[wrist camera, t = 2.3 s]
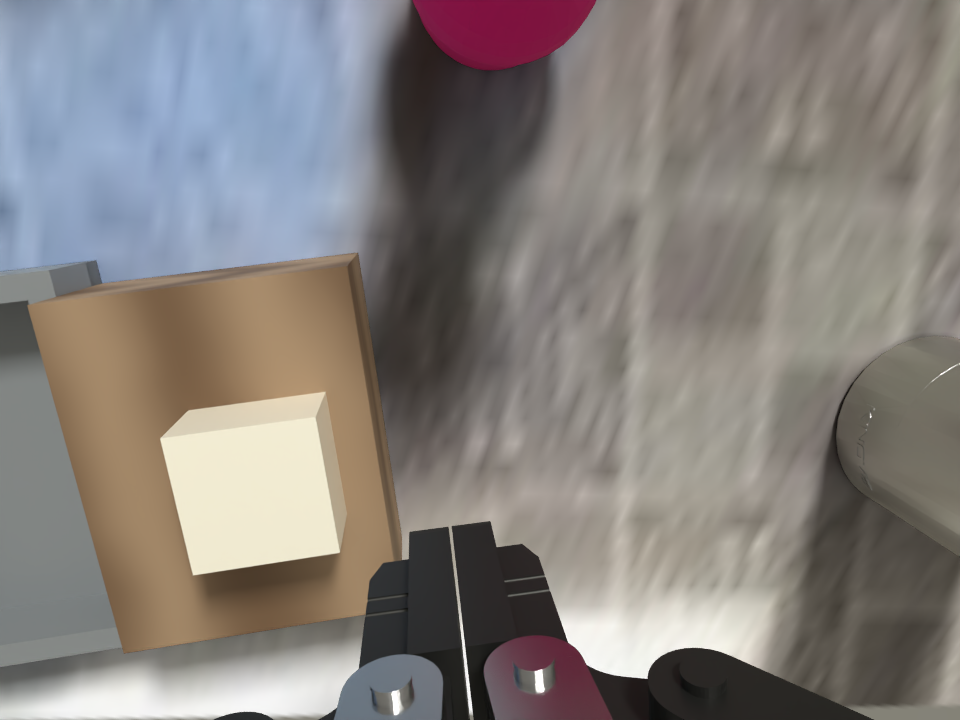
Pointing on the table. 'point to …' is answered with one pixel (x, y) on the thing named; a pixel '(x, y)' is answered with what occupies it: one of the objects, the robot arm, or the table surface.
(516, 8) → the pepper mill
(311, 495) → the cream square block
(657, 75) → the table surface
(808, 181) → the table surface
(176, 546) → the ledge
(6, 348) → the box
